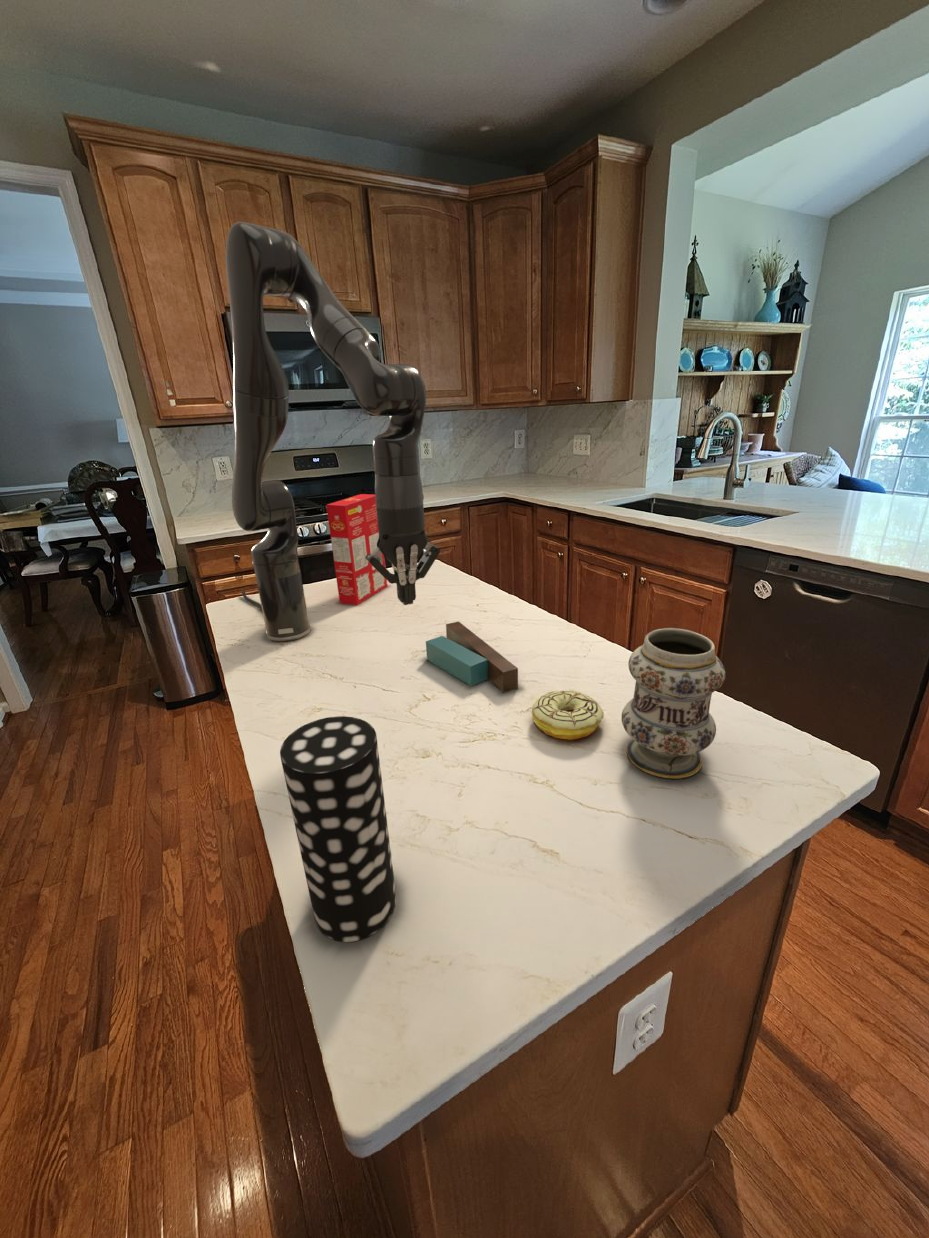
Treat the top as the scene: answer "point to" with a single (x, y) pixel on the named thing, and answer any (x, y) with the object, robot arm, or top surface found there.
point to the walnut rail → (485, 656)
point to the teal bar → (457, 660)
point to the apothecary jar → (672, 702)
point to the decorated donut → (567, 714)
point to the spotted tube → (341, 825)
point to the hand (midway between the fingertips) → (407, 603)
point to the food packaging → (355, 547)
